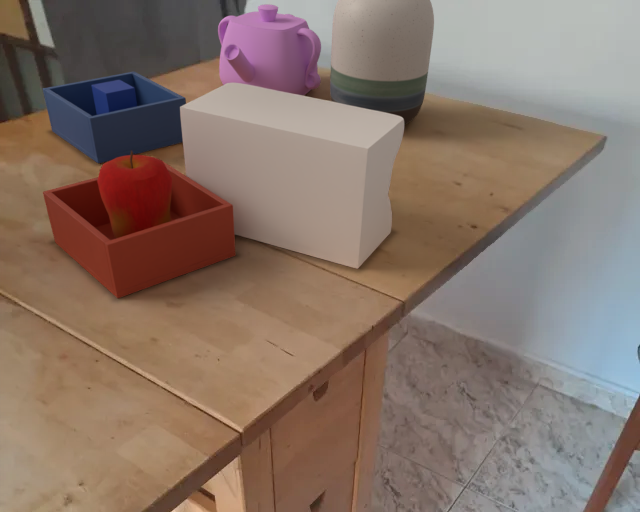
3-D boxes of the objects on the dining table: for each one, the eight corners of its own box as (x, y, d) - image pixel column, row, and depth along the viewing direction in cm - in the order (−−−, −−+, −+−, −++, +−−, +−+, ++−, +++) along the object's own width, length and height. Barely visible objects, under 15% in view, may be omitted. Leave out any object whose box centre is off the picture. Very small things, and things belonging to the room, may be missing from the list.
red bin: (55, 242, 88) (42, 191, 84) (167, 208, 96) (161, 160, 92) (117, 298, 79) (107, 245, 75) (235, 255, 87) (233, 204, 83)
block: (99, 129, 115) (91, 84, 110) (126, 123, 117) (119, 79, 112) (113, 138, 112) (106, 93, 107) (140, 132, 115) (134, 87, 110)
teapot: (306, 73, 144) (308, -7, 134) (329, 106, 129) (332, 20, 119) (215, 75, 141) (210, -6, 131) (227, 110, 126) (222, 22, 116)
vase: (310, 113, 126) (314, -43, 110) (383, 99, 134) (397, -50, 117) (364, 143, 116) (378, -23, 100) (440, 127, 124) (464, -31, 107)
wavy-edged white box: (409, 212, 98) (423, 102, 88) (357, 269, 86) (367, 149, 76) (257, 174, 106) (254, 69, 95) (190, 222, 94) (179, 107, 83)
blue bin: (52, 131, 116) (42, 88, 111) (139, 112, 124) (134, 71, 119) (98, 163, 107) (89, 118, 102) (189, 140, 115) (185, 97, 110)
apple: (171, 223, 91) (160, 133, 83) (184, 254, 86) (174, 159, 78) (105, 232, 89) (87, 140, 81) (114, 264, 83) (96, 168, 75)
